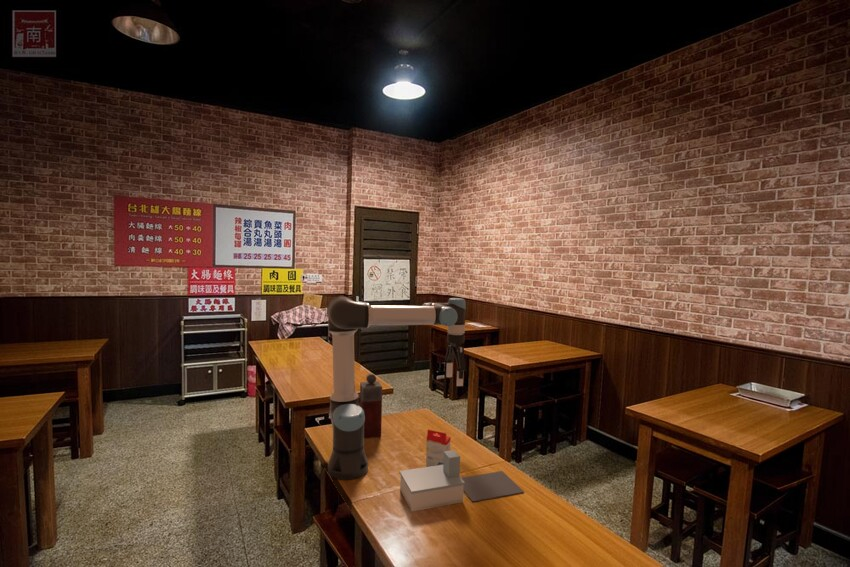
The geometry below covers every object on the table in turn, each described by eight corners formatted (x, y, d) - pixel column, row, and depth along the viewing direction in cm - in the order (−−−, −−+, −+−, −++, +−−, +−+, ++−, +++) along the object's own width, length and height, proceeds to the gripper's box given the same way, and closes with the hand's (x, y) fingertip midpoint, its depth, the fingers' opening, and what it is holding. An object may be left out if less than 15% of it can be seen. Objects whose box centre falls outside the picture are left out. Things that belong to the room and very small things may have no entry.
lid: (411, 498, 133) (412, 470, 132) (399, 477, 145) (400, 451, 145) (464, 489, 139) (465, 462, 138) (448, 469, 152) (449, 444, 151)
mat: (472, 502, 139) (472, 501, 139) (454, 479, 153) (454, 478, 153) (524, 492, 146) (524, 491, 146) (502, 472, 160) (502, 470, 160)
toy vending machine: (377, 427, 199) (378, 369, 198) (381, 437, 189) (382, 376, 187) (358, 429, 197) (359, 370, 196) (361, 438, 186) (362, 377, 185)
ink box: (450, 465, 164) (451, 429, 163) (445, 471, 159) (446, 433, 159) (430, 460, 168) (431, 425, 167) (425, 466, 163) (426, 429, 162)
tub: (411, 511, 133) (412, 493, 133) (400, 490, 145) (400, 473, 145) (462, 502, 139) (463, 484, 139) (447, 482, 151) (448, 466, 151)
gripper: (475, 338, 172) (473, 389, 173) (454, 328, 196) (452, 373, 197) (458, 338, 170) (456, 390, 171) (439, 328, 194) (437, 374, 195)
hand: (454, 381), depth 184 cm, fingers open, 13 cm apart
